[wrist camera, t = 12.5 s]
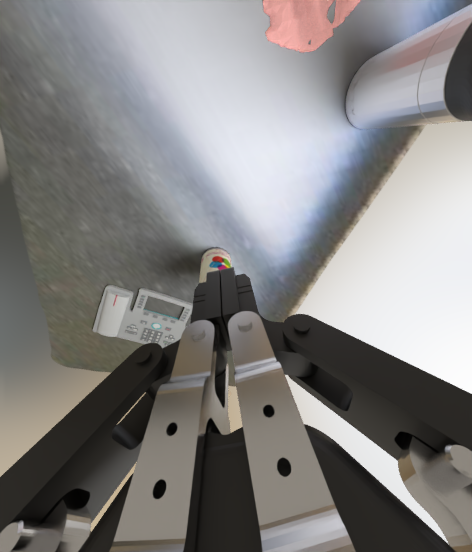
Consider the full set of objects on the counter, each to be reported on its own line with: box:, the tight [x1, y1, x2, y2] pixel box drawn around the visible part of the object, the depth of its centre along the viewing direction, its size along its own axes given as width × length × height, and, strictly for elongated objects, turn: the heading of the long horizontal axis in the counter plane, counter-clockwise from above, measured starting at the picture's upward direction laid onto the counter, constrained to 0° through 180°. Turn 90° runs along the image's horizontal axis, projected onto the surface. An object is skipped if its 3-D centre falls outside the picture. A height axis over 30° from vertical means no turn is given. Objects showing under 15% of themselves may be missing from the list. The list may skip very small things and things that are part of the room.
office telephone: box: [92, 285, 193, 348], centre depth 54 cm, size 23×3×20 cm
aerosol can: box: [199, 247, 232, 283], centre depth 39 cm, size 7×7×20 cm
